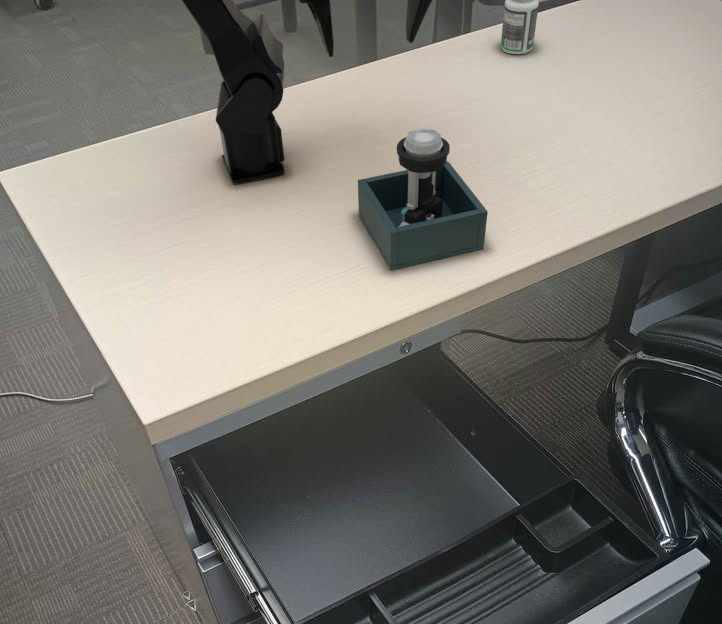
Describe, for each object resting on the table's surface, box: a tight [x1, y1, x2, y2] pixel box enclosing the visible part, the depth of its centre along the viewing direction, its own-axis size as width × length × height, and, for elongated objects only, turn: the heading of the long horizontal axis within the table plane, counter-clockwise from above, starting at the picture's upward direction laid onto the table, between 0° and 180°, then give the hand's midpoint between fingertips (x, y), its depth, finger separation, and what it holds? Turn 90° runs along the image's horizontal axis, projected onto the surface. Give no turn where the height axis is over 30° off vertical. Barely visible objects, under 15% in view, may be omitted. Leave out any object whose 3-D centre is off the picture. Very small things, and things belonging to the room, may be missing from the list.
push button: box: [396, 127, 451, 227], centre depth 80 cm, size 7×5×10 cm
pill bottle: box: [500, 0, 540, 55], centre depth 109 cm, size 5×5×8 cm
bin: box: [357, 160, 489, 271], centre depth 82 cm, size 11×11×4 cm
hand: (370, 48), depth 83 cm, fingers open, 9 cm apart
